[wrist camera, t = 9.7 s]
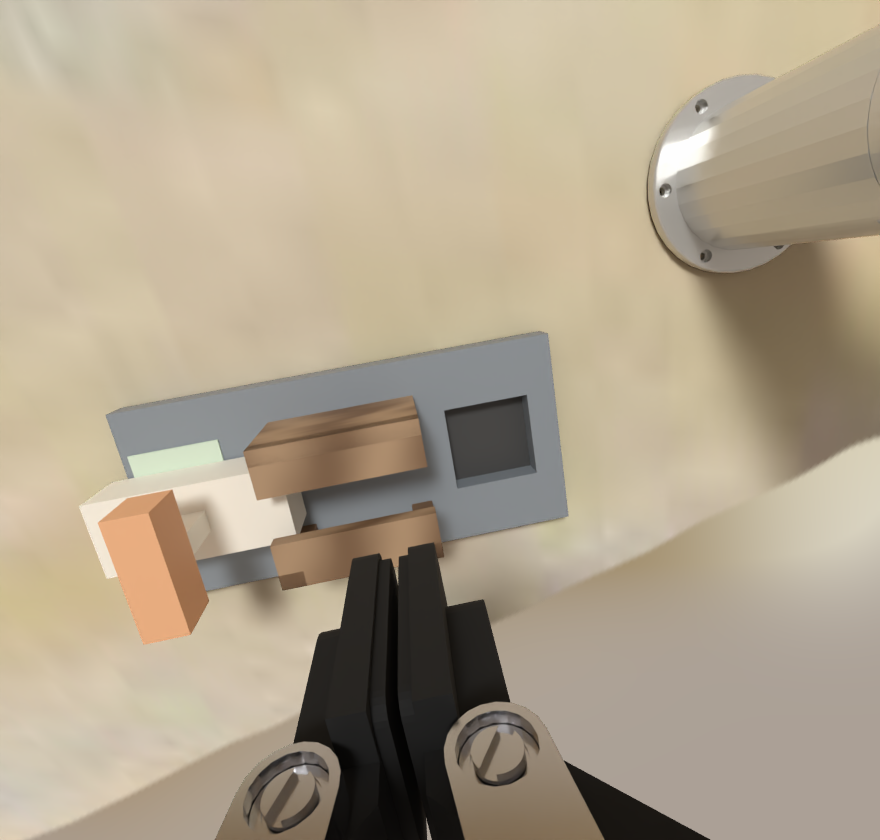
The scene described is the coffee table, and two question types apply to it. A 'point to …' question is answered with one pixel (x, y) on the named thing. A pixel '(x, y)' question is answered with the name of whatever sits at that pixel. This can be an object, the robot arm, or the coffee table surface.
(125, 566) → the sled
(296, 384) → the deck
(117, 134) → the coffee table surface
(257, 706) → the coffee table surface
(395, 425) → the tunnel
